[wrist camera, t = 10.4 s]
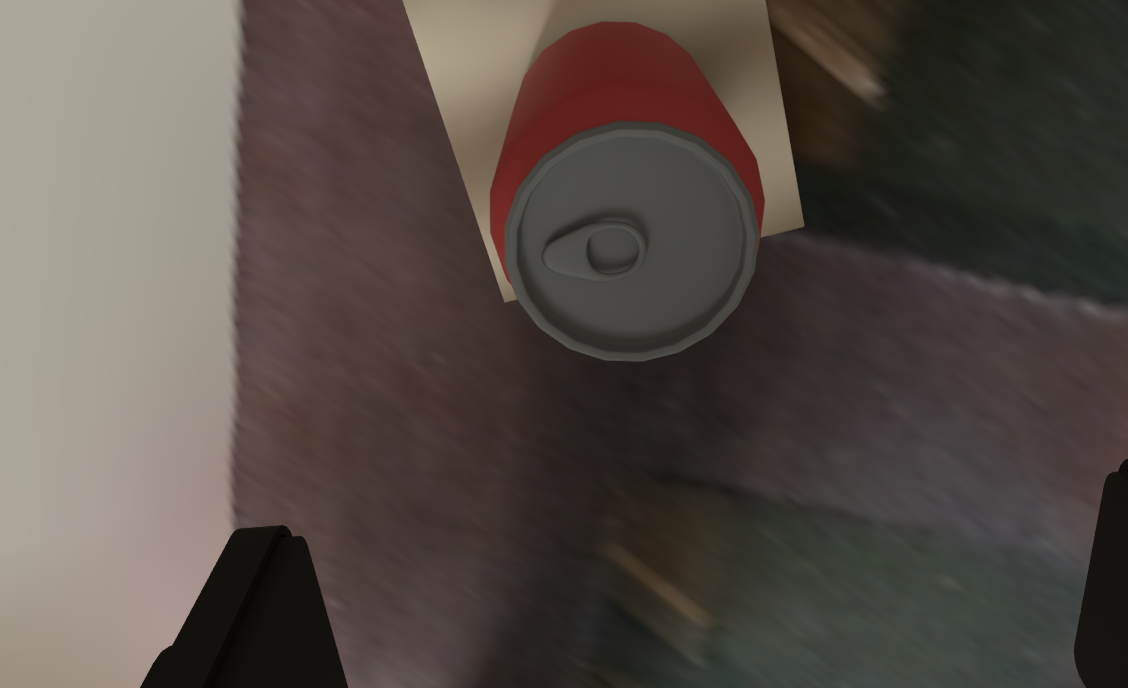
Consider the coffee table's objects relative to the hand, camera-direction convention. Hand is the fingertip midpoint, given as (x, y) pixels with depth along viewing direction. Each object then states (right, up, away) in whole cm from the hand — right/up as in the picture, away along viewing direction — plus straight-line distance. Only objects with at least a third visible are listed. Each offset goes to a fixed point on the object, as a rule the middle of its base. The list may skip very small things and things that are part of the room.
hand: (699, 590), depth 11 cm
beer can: (0, +10, +20) cm, 23 cm away
